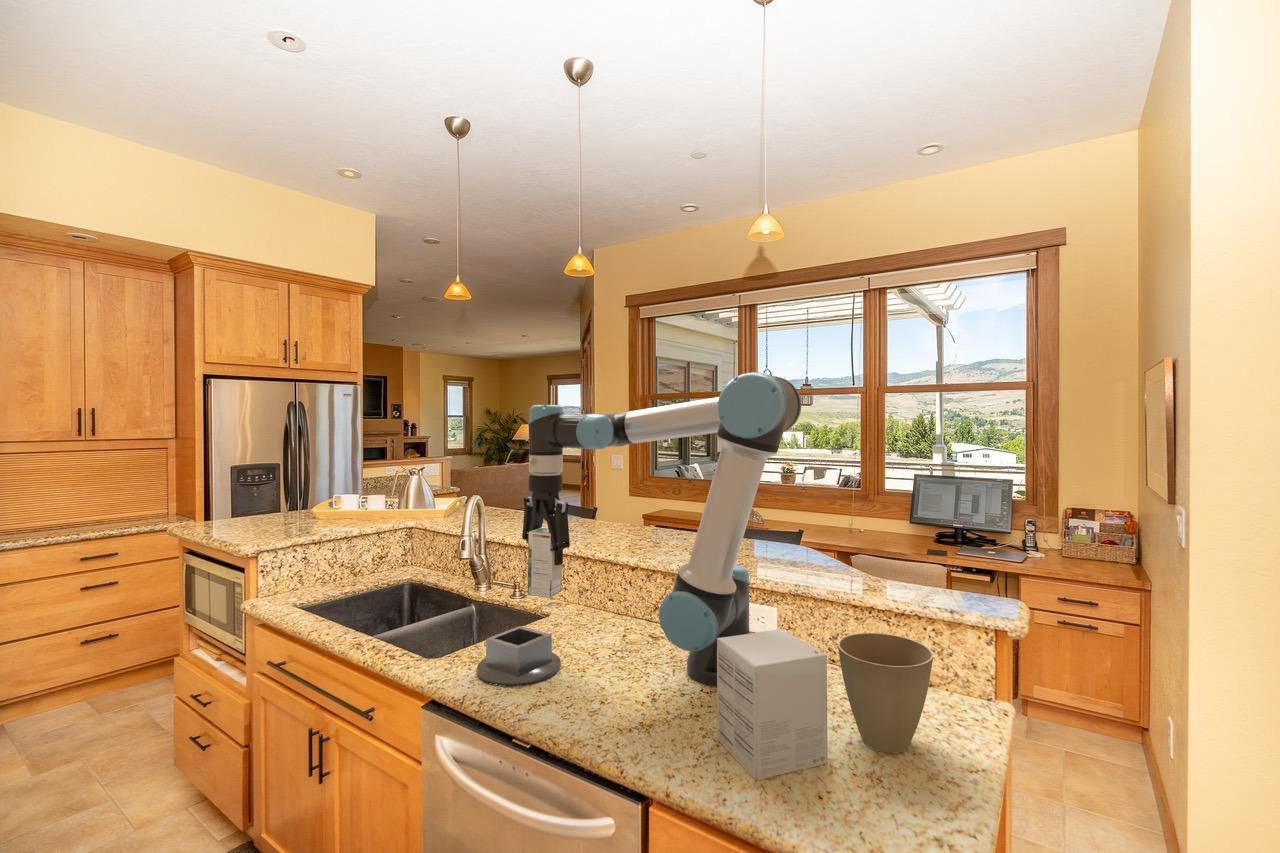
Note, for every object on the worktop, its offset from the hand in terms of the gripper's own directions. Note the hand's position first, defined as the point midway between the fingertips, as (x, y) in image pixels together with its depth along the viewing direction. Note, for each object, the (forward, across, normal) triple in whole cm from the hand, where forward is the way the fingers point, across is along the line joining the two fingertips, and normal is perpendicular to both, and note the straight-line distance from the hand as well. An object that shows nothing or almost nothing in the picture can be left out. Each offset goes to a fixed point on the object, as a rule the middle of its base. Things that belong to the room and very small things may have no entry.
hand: (545, 575), depth 137 cm
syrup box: (+4, 0, 0) cm, 4 cm away
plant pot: (+19, +69, +20) cm, 74 cm away
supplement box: (+19, +57, +4) cm, 60 cm away
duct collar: (+20, -1, -6) cm, 21 cm away
